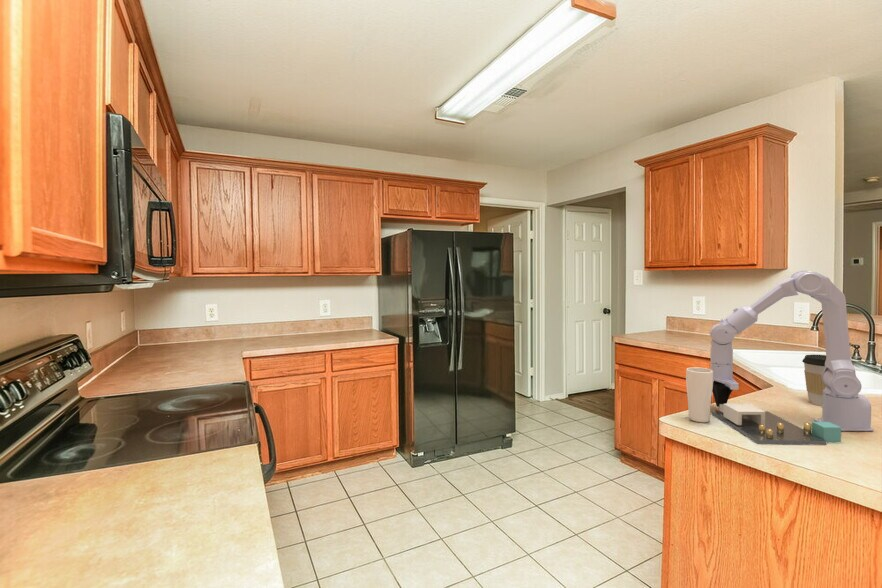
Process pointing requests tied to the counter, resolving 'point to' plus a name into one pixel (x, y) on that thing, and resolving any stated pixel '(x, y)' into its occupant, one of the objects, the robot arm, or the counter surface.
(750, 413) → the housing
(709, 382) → the drinking glass
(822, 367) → the coffee cup
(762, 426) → the base plate
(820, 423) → the block
